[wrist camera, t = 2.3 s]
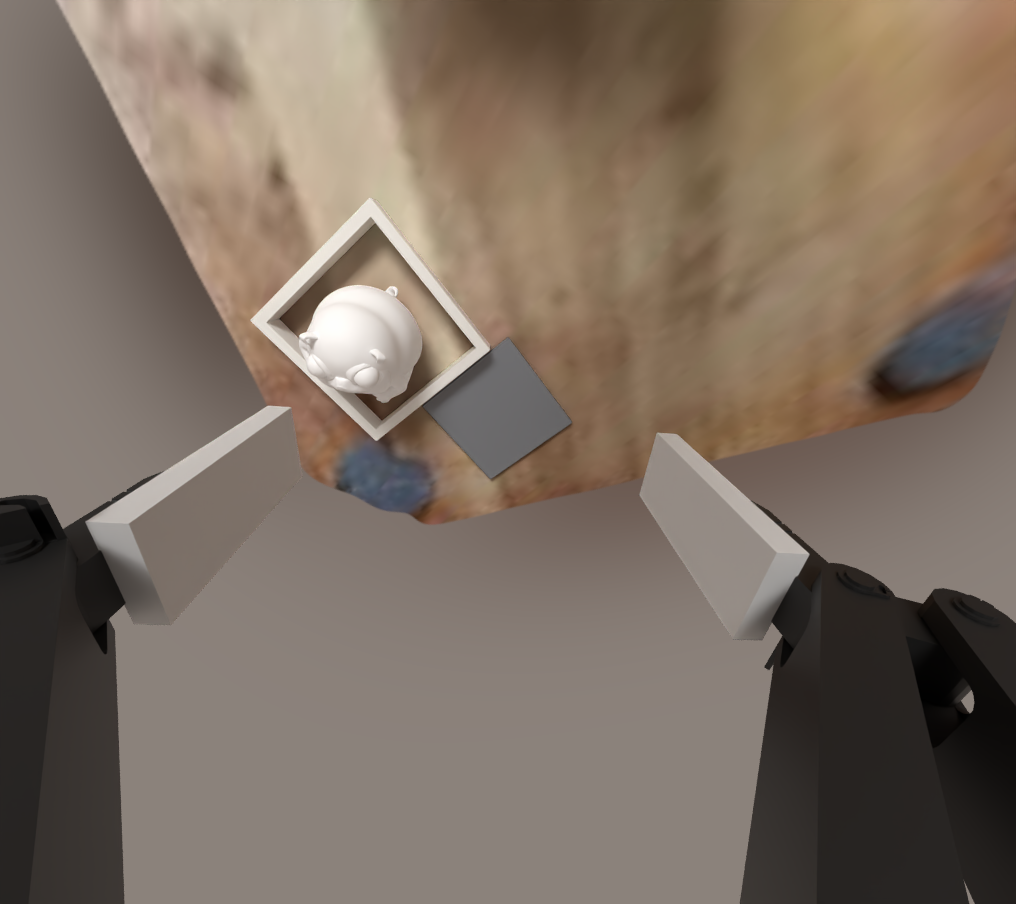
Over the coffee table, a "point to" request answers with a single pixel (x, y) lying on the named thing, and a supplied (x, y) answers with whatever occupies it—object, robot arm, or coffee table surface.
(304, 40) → the coffee table surface
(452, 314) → the bin frame
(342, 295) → the figurine
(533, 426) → the coaster pad
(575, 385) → the coffee table surface
